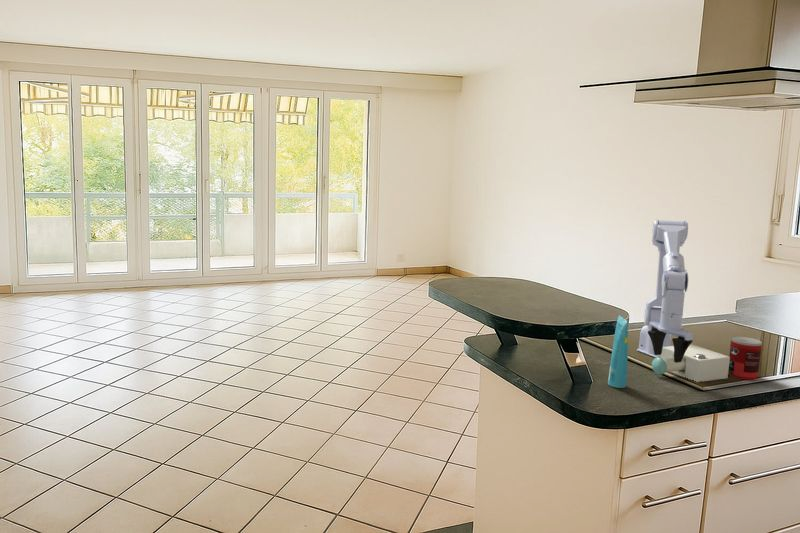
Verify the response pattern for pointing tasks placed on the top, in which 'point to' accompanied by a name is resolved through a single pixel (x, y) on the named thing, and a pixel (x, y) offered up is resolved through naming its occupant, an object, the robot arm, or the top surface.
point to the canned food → (744, 358)
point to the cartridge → (667, 365)
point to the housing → (700, 363)
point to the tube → (619, 355)
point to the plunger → (700, 356)
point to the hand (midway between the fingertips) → (667, 358)
